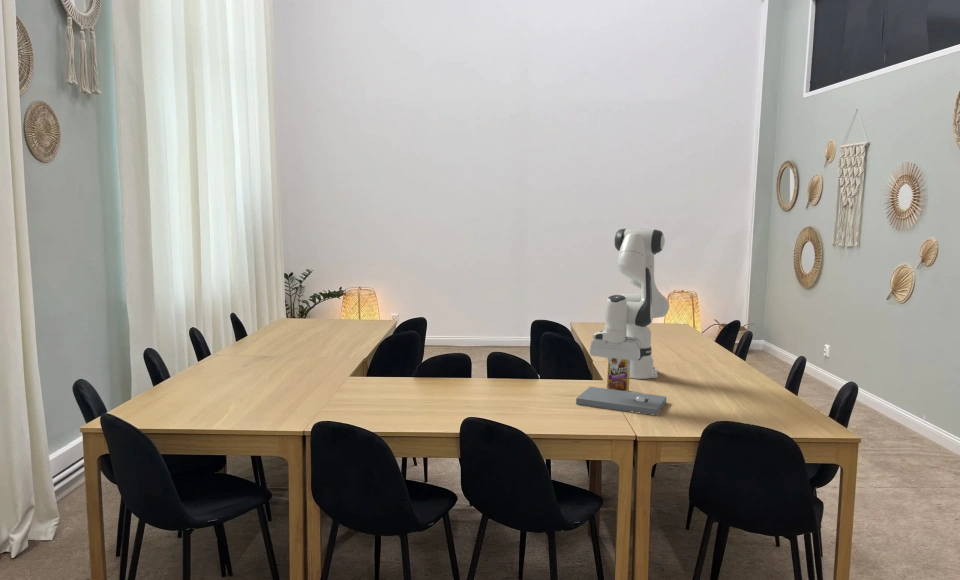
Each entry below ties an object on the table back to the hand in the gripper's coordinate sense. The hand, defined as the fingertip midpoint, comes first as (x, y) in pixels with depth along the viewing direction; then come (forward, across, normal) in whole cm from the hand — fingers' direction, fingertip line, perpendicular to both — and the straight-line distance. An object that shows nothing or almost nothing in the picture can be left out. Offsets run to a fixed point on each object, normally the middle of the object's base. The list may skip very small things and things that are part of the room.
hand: (614, 368), depth 276 cm
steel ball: (+11, -12, +3) cm, 17 cm away
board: (+13, -4, +3) cm, 14 cm away
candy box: (+14, +2, -16) cm, 22 cm away
